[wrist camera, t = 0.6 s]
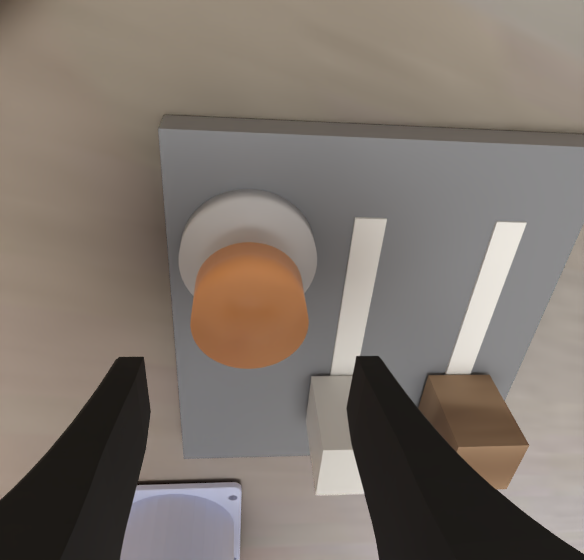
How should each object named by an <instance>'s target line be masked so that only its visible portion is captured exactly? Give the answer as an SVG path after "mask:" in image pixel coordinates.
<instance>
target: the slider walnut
mask: <svg viewBox="0 0 584 560" xmlns="http://www.w3.org/2000/svg"><path fill="white" fill-rule="evenodd" d="M418 409H419V410H420V411H421V412H422V414H423V415H424V416H425V417H426V418H427V420H428V421H429V422H430V423H431V424H432V426H433V427H434V428H435V429H436V430H437V431H438V432H439V434H440V435H441V436H442V437H443V438H444V439H445V440H446V441H447V442H448V444H449V445H450V446H451V447H452V448H453V449H454V450H455V451H456V452H457V453H458V454H459V455H460V456H461V457H462V458H463V459H464V460H465V461H466V462H467V463H468V464H469V465H470V466H471V467H472V468H473V469H474V470H475V471H476V472H477V473H478V474H479V475H480V476H482V477H483V478H484V479H485V480H486V481H487V482H488V483H489V484H490V485H491V486H493V487H494V488H495V489H507V487H508V485H509V483H510V481H511V479H512V477H513V475H514V474H515V472H516V470H517V468H518V466H519V464H520V462H521V460H522V458H523V456H524V454H525V452H526V451H527V449H528V447H529V444H528V442H527V441H526V439H525V437H524V435H523V433H522V432H521V430H520V428H519V426H518V424H517V423H516V421H515V419H514V417H513V416H512V414H511V412H510V410H509V408H508V407H507V405H506V403H505V401H504V399H503V398H502V396H501V394H500V392H499V391H498V389H497V387H496V385H495V383H494V382H493V380H492V378H491V376H490V375H428V378H427V381H426V384H425V388H424V391H423V394H422V397H421V401H420V404H419V407H418Z"/></svg>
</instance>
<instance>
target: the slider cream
mask: <svg viewBox="0 0 584 560" xmlns="http://www.w3.org/2000/svg"><path fill="white" fill-rule="evenodd" d="M351 381H352V376H311V384H310V392H309V399H308V407H307V415H306V426H307V434H308V441H309V449H310V456H311V464H312V471H313V479H314V486H315V494H316V496H318V495H347V494H364V490H363V486H362V483H361V479H360V475H359V472H358V468H357V464H356V460H355V456H354V452H353V448H352V444H351V438H350V432H349V425H348V417H347V410H346V407H347V402H348V397H349V392H350V386H351Z"/></svg>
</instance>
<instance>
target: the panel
mask: <svg viewBox="0 0 584 560" xmlns="http://www.w3.org/2000/svg"><path fill="white" fill-rule="evenodd" d="M158 132H159V145H160V158H161V171H162V184H163V197H164V209H165V222H166V235H167V248H168V261H169V274H170V286H171V299H172V312H173V325H174V338H175V351H176V364H177V376H178V389H179V402H180V415H181V428H182V441H183V454H184V459H194V458H233V457H272V456H310V449H309V441H308V434H307V426H306V415H307V407H308V399H309V392H310V384H311V376H353V371H354V366H355V360H356V356H379V357H380V358H381V359H382V360H383V362H384V363H385V365H386V366H387V367H388V369H389V370H390V372H391V373H392V374H393V376H394V377H395V379H396V380H397V381H398V383H399V384H400V385H401V387H402V388H403V389H404V391H405V392H406V393H407V395H408V396H409V397H410V399H411V400H412V401H413V402H414V404H415V405H416V406H417V407H419V404H420V401H421V397H422V394H423V391H424V388H425V384H426V381H427V378H428V375H490V376H491V378H492V380H493V382H494V383H495V385H496V387H497V389H498V391H499V392H500V394H501V396H502V398H503V399H504V401H505V399H506V397H507V395H508V392H509V390H510V388H511V386H512V383H513V381H514V379H515V377H516V374H517V372H518V370H519V368H520V365H521V363H522V361H523V359H524V356H525V354H526V352H527V350H528V347H529V345H530V343H531V341H532V338H533V336H534V334H535V332H536V329H537V327H538V325H539V323H540V320H541V318H542V316H543V314H544V311H545V309H546V307H547V305H548V302H549V300H550V298H551V296H552V293H553V291H554V289H555V287H556V284H557V282H558V280H559V278H560V275H561V273H562V271H563V269H564V266H565V264H566V262H567V260H568V257H569V255H570V253H571V251H572V248H573V246H574V244H575V242H576V239H577V237H578V235H579V233H580V230H581V228H582V226H583V224H584V134H569V133H547V132H526V131H504V130H482V129H461V128H439V127H418V126H396V125H375V124H353V123H331V122H310V121H288V120H267V119H245V118H223V117H202V116H180V115H164V116H163V118H162V121H161V123H160V126H159V128H158ZM242 242H256V243H262V244H267V245H270V246H273V247H275V248H277V249H279V250H281V251H282V252H284V253H285V254H286V255H288V256H289V257H290V258H291V259H292V260H293V261H294V263H295V264H296V266H297V267H298V269H299V272H300V275H301V278H302V284H303V290H304V295H305V301H306V307H307V313H308V319H309V325H308V331H307V334H306V337H305V339H304V341H303V343H302V344H301V345H300V347H299V348H298V349H297V350H296V351H295V352H294V353H293V354H291V355H290V356H289V357H287V358H286V359H284V360H282V361H280V362H278V363H276V364H273V365H270V366H267V367H262V368H255V369H241V368H234V367H230V366H226V365H224V364H221V363H219V362H217V361H214V360H213V359H211V358H210V357H208V356H207V355H206V354H205V353H203V352H202V350H201V349H200V348H199V347H198V346H197V344H196V343H195V341H194V339H193V336H192V333H191V327H190V322H191V313H192V305H193V297H194V290H195V282H196V277H197V274H198V271H199V269H200V267H201V266H202V264H203V263H204V262H205V260H206V259H207V258H208V257H209V256H211V255H212V254H213V253H215V252H216V251H218V250H220V249H221V248H224V247H226V246H229V245H232V244H236V243H242Z"/></svg>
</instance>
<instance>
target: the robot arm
mask: <svg viewBox="0 0 584 560" xmlns="http://www.w3.org/2000/svg"><path fill="white" fill-rule="evenodd" d="M346 410H347V417H348V425H349V432H350V438H351V444H352V448H353V452H354V456H355V460H356V464H357V468H358V472H359V475H360V479H361V483H362V486H363V490H364V494H365V498H366V501H367V505H368V509H369V513H370V516H371V520H372V524H373V529H374V533H375V538H376V543H377V549H378V555H379V560H584V554H583V553H581V552H580V551H578V550H577V549H575V548H574V547H572V546H571V545H569V544H567V543H566V542H564V541H563V540H561V539H560V538H558V537H557V536H556V535H554V534H553V533H551V532H550V531H549V530H547V529H546V528H545V527H543V526H542V525H540V524H539V523H538V522H536V521H535V520H534V519H532V518H531V517H530V516H528V515H527V514H526V513H524V512H523V511H522V510H521V509H519V508H518V507H517V506H516V505H514V504H513V503H512V502H511V501H510V500H508V499H507V498H506V497H505V496H504V495H502V494H501V493H500V492H499V491H498V490H496V489H495V488H494V487H493V486H491V485H490V484H489V483H488V482H487V481H486V480H485V479H484V478H483V477H482V476H480V475H479V474H478V473H477V472H476V471H475V470H474V469H473V468H472V467H471V466H470V465H469V464H468V463H467V462H466V461H465V460H464V459H463V458H462V457H461V456H460V455H459V454H458V453H457V452H456V451H455V450H454V449H453V448H452V447H451V446H450V445H449V444H448V442H447V441H446V440H445V439H444V438H443V437H442V436H441V435H440V434H439V432H438V431H437V430H436V429H435V428H434V427H433V426H432V424H431V423H430V422H429V421H428V420H427V418H426V417H425V416H424V415H423V414H422V412H421V411H420V410H419V409H418V407H417V406H416V405H415V404H414V402H413V401H412V400H411V399H410V397H409V396H408V395H407V393H406V392H405V391H404V389H403V388H402V387H401V385H400V384H399V383H398V381H397V380H396V379H395V377H394V376H393V374H392V373H391V372H390V370H389V369H388V367H387V366H386V365H385V363H384V362H383V360H382V359H381V358H380V357H379V356H356V360H355V366H354V371H353V376H352V381H351V386H350V392H349V397H348V402H347V407H346ZM150 412H151V411H150V403H149V395H148V387H147V379H146V371H145V363H144V357H119V358H118V359H116V360H115V362H114V363H113V365H112V367H111V368H110V370H109V371H108V373H107V374H106V376H105V377H104V379H103V380H102V382H101V383H100V385H99V386H98V388H97V389H96V391H95V392H94V393H93V395H92V396H91V398H90V399H89V400H88V402H87V403H86V404H85V406H84V407H83V408H82V410H81V411H80V412H79V414H78V415H77V416H76V418H75V419H74V420H73V422H72V423H71V424H70V425H69V427H68V428H67V429H66V430H65V432H64V433H63V434H62V435H61V436H60V437H59V439H58V440H57V441H56V442H55V443H54V445H53V446H52V447H51V448H50V449H49V451H48V452H47V453H46V454H45V455H44V456H43V457H42V458H41V460H40V461H39V462H38V463H37V464H36V465H35V466H34V467H33V468H32V469H31V470H30V471H29V472H28V473H27V474H26V476H25V477H24V478H23V479H22V480H21V481H20V482H19V483H18V484H17V485H16V486H15V487H14V488H13V489H12V490H11V491H10V492H8V493H7V494H6V495H5V496H4V497H3V498H2V499H1V500H0V560H240V533H241V494H242V487H241V485H240V484H239V483H236V482H220V483H188V484H156V485H137V483H138V479H139V474H140V470H141V466H142V462H143V458H144V454H145V450H146V443H147V436H148V428H149V420H150Z"/></svg>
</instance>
